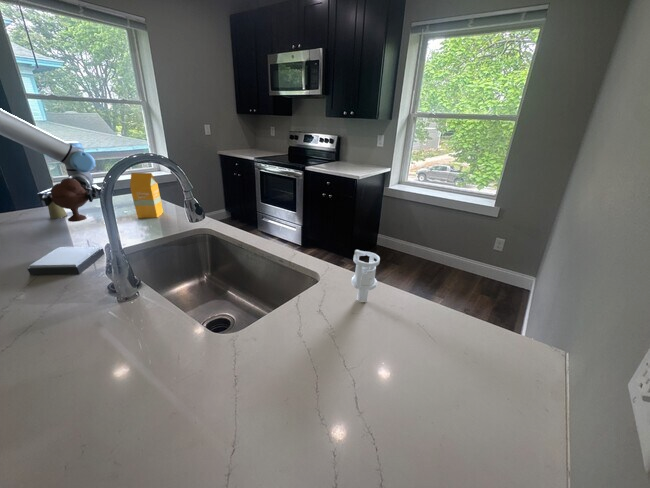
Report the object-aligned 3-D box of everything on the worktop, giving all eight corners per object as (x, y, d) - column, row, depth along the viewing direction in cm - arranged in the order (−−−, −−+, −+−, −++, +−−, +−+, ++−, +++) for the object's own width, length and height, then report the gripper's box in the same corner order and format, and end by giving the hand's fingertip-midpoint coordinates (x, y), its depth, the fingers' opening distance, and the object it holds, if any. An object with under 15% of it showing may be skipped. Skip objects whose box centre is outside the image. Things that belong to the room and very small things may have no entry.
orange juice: (144, 212, 145) (135, 171, 136) (163, 212, 146) (155, 171, 137) (137, 217, 138) (126, 174, 129) (157, 217, 139) (148, 175, 130)
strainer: (357, 290, 90) (362, 245, 84) (378, 298, 87) (384, 252, 80) (345, 300, 85) (349, 254, 79) (367, 310, 81) (372, 262, 75)
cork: (46, 218, 134) (37, 194, 129) (59, 213, 139) (51, 190, 134) (58, 219, 133) (49, 195, 128) (70, 215, 138) (62, 191, 133)
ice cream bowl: (92, 212, 116) (80, 173, 109) (98, 220, 109) (86, 179, 102) (56, 218, 109) (42, 177, 103) (60, 226, 102) (45, 183, 95)
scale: (29, 275, 91) (25, 266, 90) (61, 254, 104) (58, 246, 102) (79, 274, 93) (76, 265, 91) (104, 253, 105) (102, 245, 104)
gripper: (115, 191, 126) (112, 206, 109) (42, 197, 115) (26, 214, 98) (110, 174, 123) (106, 186, 106) (35, 178, 112) (18, 192, 95)
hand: (68, 200), depth 102 cm, fingers closed on ice cream bowl, 11 cm apart
